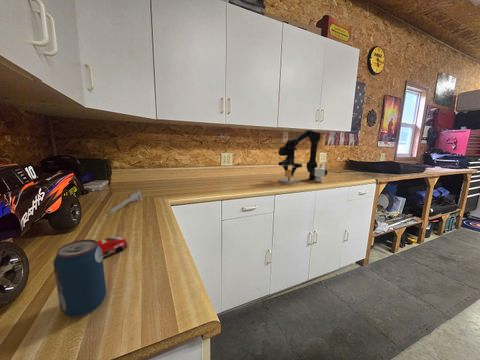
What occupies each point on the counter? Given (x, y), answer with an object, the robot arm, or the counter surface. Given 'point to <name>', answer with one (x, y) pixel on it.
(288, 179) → the junction plate
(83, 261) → the soda can
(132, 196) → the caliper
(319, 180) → the pneumatic valve
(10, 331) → the counter surface
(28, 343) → the counter surface
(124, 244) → the race car
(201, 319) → the counter surface
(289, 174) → the wire nut cap
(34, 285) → the counter surface
